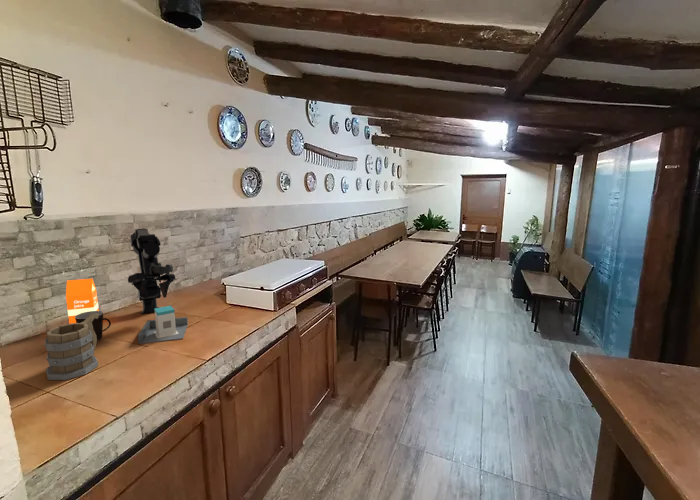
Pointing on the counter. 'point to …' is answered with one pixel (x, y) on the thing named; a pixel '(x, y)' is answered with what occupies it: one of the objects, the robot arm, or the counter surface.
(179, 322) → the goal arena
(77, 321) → the coffee mug
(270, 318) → the counter surface
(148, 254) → the robot arm
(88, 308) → the orange juice
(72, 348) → the tankard
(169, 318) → the white teal-lidded canister
